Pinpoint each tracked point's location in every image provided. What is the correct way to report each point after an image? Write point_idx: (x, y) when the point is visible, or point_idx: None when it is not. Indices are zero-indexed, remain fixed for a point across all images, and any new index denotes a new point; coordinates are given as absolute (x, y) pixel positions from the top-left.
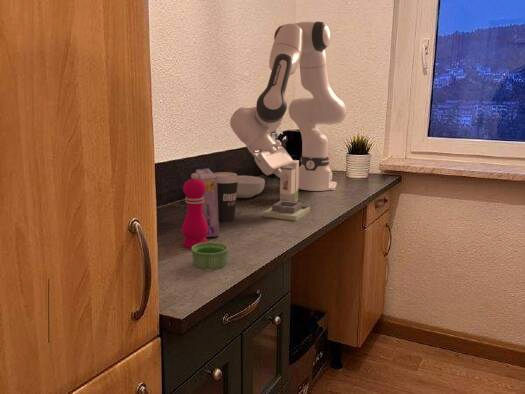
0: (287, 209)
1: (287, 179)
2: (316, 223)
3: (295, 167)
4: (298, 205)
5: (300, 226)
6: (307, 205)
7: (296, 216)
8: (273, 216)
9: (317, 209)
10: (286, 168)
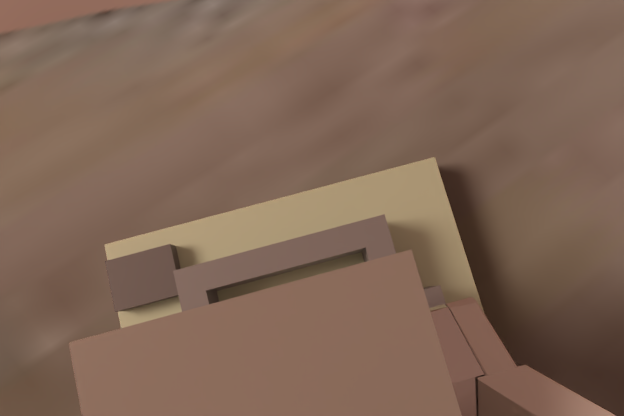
0: None
1: (445, 306)
2: (382, 27)
3: (101, 335)
4: (270, 245)
5: (525, 63)
6: (113, 259)
7: (433, 158)
8: None
9: (14, 242)
10: (454, 411)
